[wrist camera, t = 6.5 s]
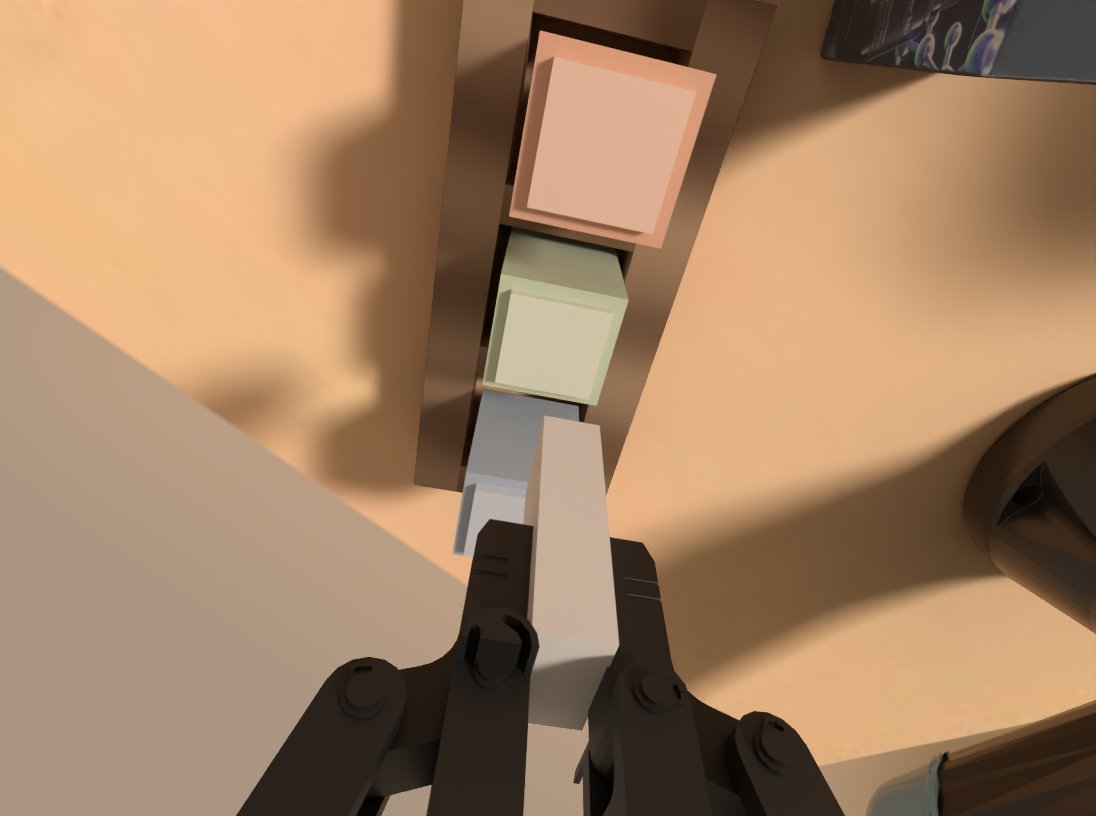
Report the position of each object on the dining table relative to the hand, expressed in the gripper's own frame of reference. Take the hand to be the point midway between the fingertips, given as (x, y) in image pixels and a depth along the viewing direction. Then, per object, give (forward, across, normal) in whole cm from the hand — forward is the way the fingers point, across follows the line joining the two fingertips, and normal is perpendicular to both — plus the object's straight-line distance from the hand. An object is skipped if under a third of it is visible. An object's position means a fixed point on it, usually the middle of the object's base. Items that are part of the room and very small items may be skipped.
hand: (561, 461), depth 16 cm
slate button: (+10, -1, -7) cm, 12 cm away
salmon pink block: (+10, 0, +7) cm, 13 cm away
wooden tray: (+14, -1, 0) cm, 14 cm away
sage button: (+12, -1, 0) cm, 12 cm away
